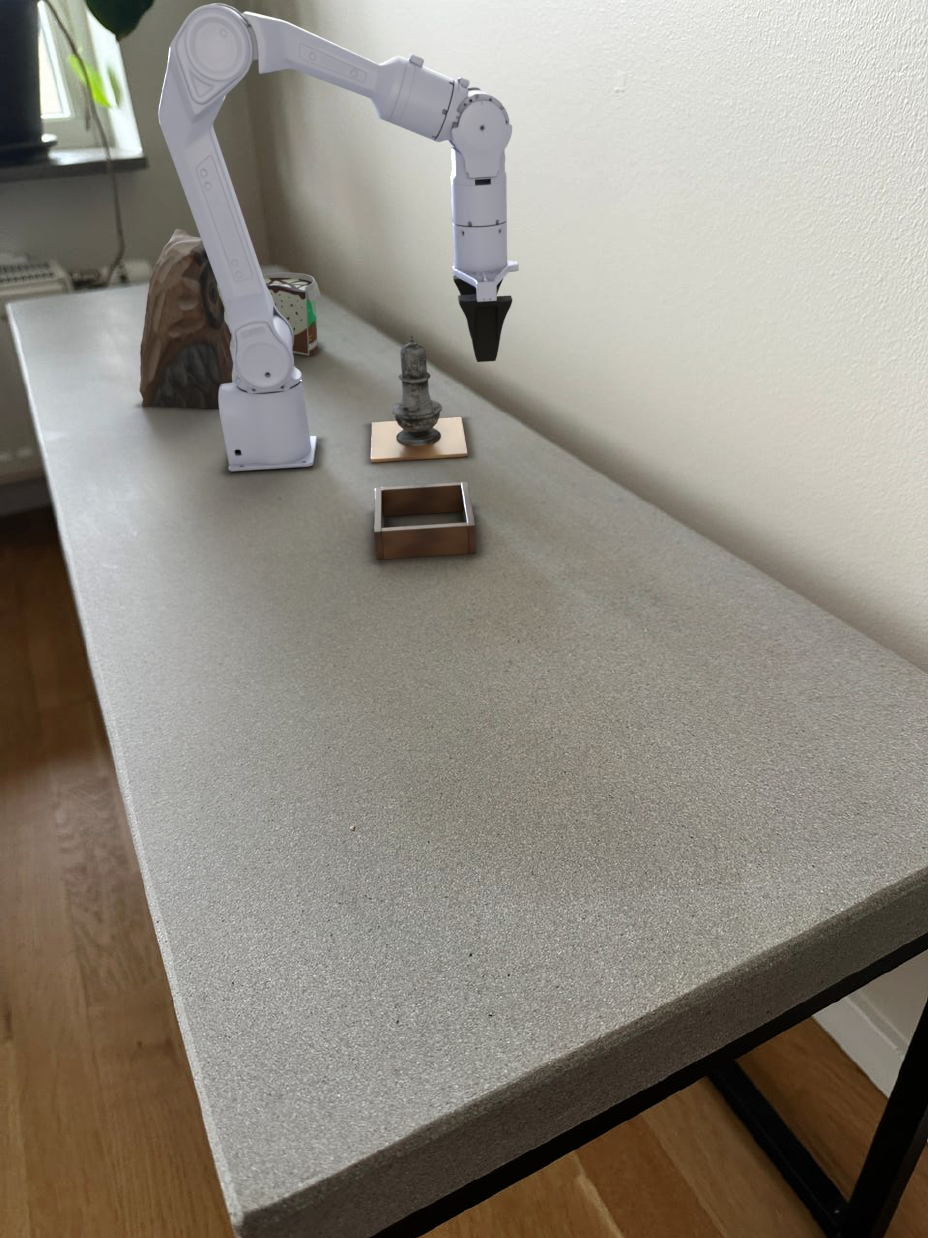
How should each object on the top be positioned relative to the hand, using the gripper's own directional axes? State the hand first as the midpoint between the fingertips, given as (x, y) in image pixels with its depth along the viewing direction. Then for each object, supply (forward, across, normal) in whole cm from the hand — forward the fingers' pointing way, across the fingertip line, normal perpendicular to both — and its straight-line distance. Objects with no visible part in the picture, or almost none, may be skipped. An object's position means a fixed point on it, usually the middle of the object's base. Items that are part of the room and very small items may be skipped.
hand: (483, 349), depth 108 cm
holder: (+10, -23, +8) cm, 26 cm away
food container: (+11, +39, +25) cm, 48 cm away
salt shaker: (+10, 0, +8) cm, 13 cm away
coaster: (+10, 0, +8) cm, 13 cm away
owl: (+11, +20, +38) cm, 44 cm away
